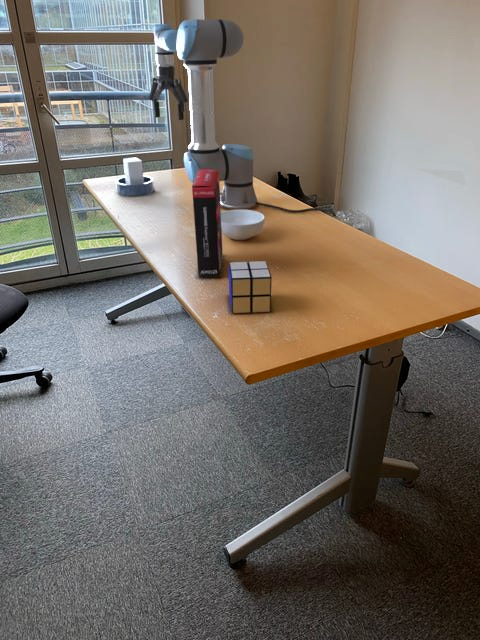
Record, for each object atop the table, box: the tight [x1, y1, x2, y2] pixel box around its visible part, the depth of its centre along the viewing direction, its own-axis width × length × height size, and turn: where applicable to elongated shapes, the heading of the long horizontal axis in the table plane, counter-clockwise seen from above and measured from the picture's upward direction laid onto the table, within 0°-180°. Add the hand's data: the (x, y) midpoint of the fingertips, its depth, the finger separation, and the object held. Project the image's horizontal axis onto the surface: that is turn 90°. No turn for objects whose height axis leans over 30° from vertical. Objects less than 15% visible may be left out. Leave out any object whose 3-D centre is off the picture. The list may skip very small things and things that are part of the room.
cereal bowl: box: [221, 209, 266, 241], centre depth 173 cm, size 17×17×7 cm
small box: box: [122, 157, 144, 185], centre depth 218 cm, size 8×6×13 cm
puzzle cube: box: [228, 260, 273, 315], centre depth 130 cm, size 10×10×10 cm
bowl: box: [115, 175, 155, 197], centre depth 220 cm, size 16×16×5 cm
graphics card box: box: [191, 170, 224, 279], centre depth 146 cm, size 17×7×27 cm, turn 179°
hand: (169, 118), depth 227 cm, fingers open, 13 cm apart
